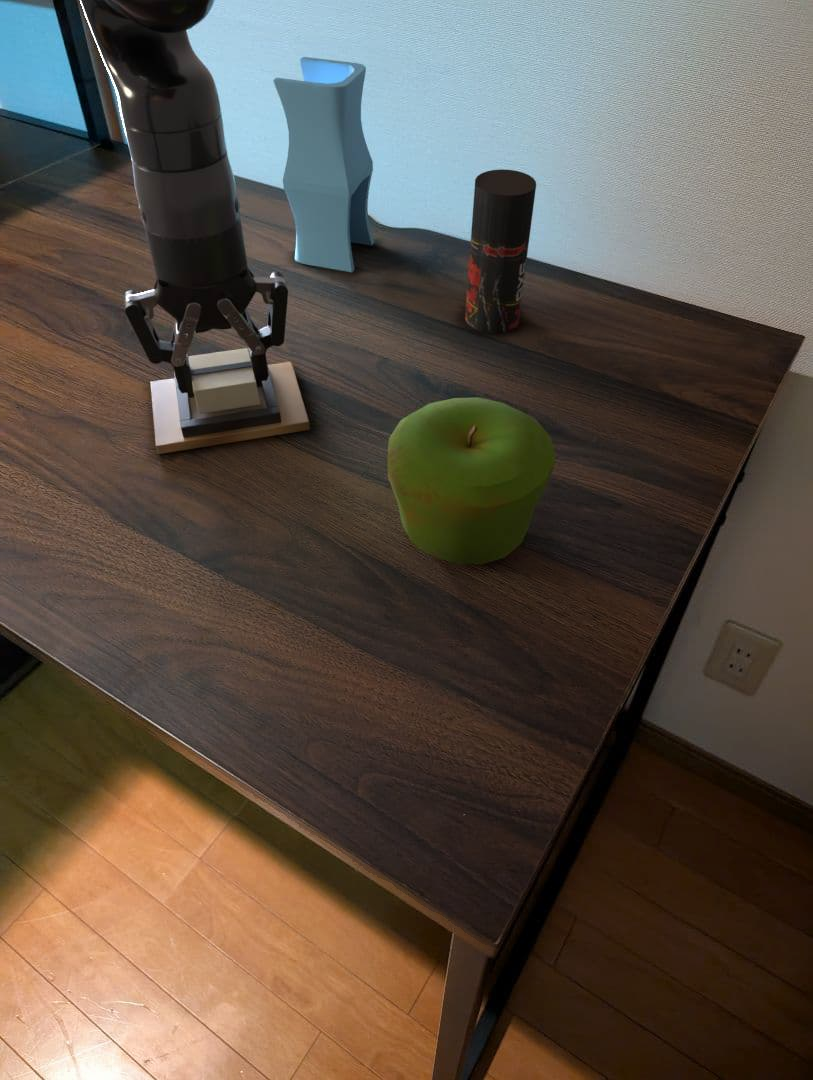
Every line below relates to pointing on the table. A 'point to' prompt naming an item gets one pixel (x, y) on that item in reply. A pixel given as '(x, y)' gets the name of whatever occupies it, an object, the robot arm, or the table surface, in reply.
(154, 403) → the base pad
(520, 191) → the deodorant
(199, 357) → the ivory pad
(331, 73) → the vase
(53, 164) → the table surface
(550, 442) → the apple
